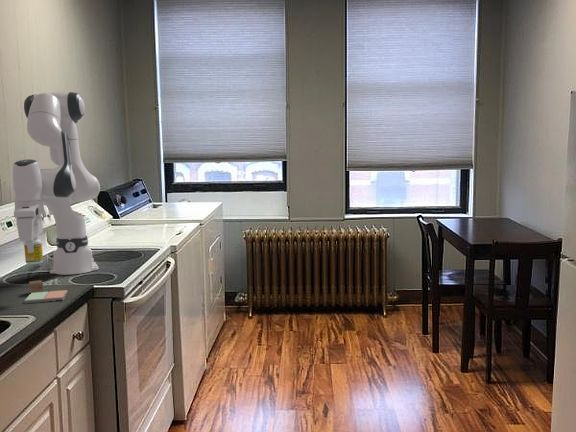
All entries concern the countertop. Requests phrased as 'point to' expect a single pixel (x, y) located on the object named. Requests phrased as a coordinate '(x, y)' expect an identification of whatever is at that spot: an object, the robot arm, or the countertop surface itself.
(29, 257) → the supplement bottle
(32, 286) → the walnut block
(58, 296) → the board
